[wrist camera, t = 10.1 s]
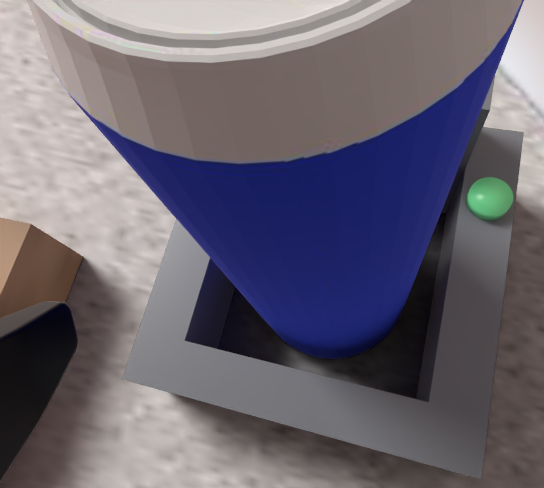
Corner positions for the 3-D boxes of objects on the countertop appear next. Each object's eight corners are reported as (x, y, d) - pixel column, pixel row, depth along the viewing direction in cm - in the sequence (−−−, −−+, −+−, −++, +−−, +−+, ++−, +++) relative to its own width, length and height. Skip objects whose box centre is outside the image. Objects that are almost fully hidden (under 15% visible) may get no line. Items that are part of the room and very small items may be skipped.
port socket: (455, 469, 16) (517, 494, 10) (164, 388, 18) (67, 367, 12) (494, 183, 19) (560, 66, 13) (240, 145, 21) (192, 30, 15)
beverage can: (435, 278, 18) (716, -260, 4) (342, 393, 17) (276, 237, 3) (322, 197, 20) (235, -373, 6) (233, 298, 19) (-128, -78, 5)
